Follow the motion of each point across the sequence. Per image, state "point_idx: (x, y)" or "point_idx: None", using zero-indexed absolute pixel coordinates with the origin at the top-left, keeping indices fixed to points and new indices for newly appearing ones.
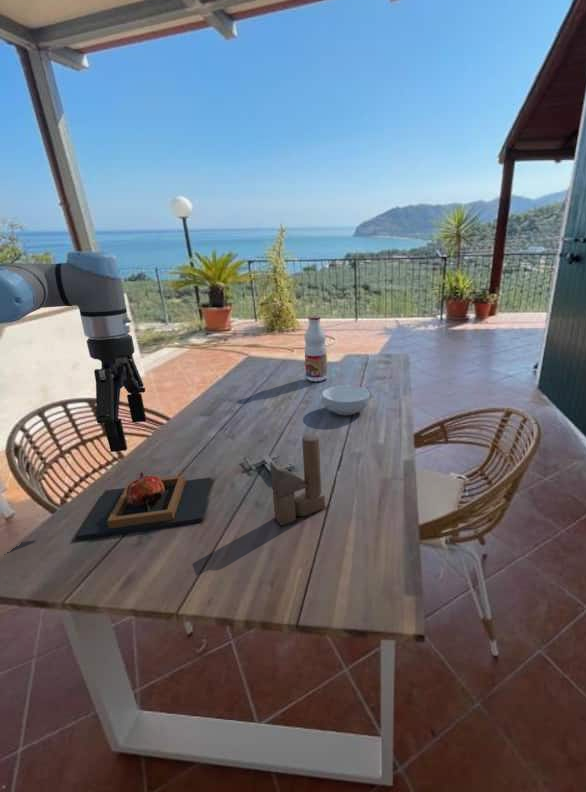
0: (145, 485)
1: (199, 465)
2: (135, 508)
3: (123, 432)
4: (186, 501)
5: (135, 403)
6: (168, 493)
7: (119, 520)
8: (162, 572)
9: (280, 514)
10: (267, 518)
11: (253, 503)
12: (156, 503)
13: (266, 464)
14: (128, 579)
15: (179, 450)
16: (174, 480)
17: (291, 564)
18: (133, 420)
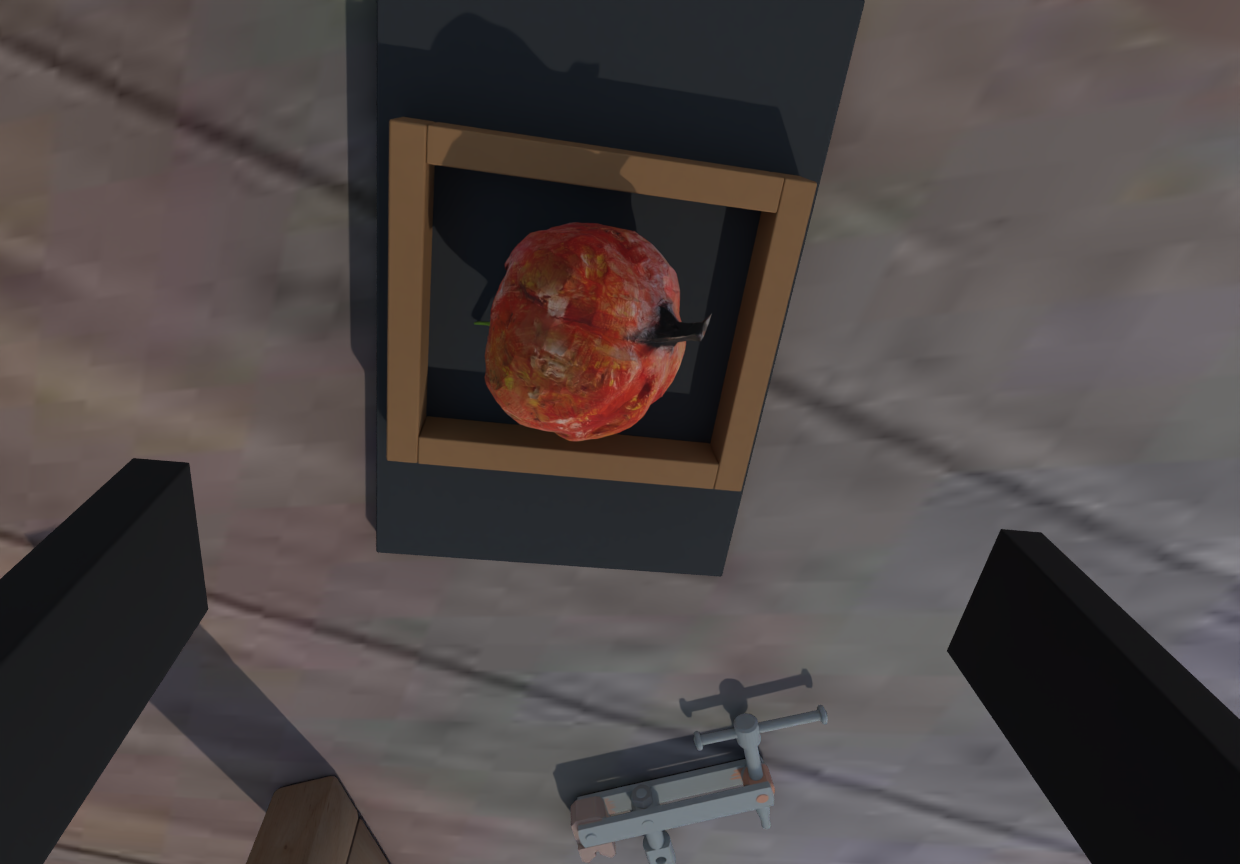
0: (513, 383)
1: (902, 508)
2: None
3: (58, 815)
4: (537, 485)
5: (1161, 838)
6: None
7: (390, 192)
8: (54, 411)
9: (255, 840)
10: (339, 750)
11: (458, 713)
12: None
13: (736, 771)
14: (18, 275)
15: (1152, 398)
16: (720, 440)
17: None
18: (1012, 560)
